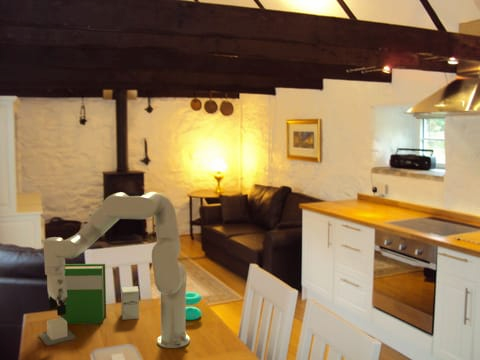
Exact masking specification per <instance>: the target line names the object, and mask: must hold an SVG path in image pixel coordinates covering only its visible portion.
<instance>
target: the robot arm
mask: <svg viewBox="0 0 480 360" xmlns="http://www.w3.org/2000/svg"><path fill="white" fill-rule="evenodd" d="M151 217H154V226H155V227H154V228H155V235H156V243H155V244H154V246H153V247H152V251H151V263H152V264H151V265H152V270H153V277H154V283H155V286H156V289H157V291H159V293H160V332H161V333H160V336H158V337H157V340H156V341H157V343H156V344H157V345H158V346H160V347H162V348H167V349H179V348H182V347H185V346H187V345H188V344H189V343H190V340H191V339H190V336H189V335H188V334H187V331H186V327H187V326H186V325H187V324H186V323H187V322H186V321H187V320H186V309H185V307H186V305H185V303H186V291H187V278H188V277H187V270H186V267H185V266H184V265H183V264H182V263H181V262H179V258H178V257H179V255H180V254H181V252H182V245H181V239H180V232H179V226H178V221H177V219H178V218H177V213H176V210H175V207H174V205H173V203H172V201H171V200H170V199H169V198H168V197H167V196H166V195H164V194H162V193H160V192H156V191H149V192H146V193H143V194H142V195H141V196H140V195H134V196H133V195H132V196H131V195H128V194H127V193H125V192H121V191H120V192H116V193H113V194H111V195H108V196H107V197H106V198H105V199H104V201H103V202H102V205H100V206H99V207H98V209H97V210H95V211H94V212H93V213H92V214H91V215H90V216H89V218H88V219H89V220H88V222H86V224H85V225H84V226H82V228H81V229H79V231H78V232H76V233H75V234H74V235H72V236H70V237H68V238H66V239H64V238H63V237H60V236H57V237H56V236H53V237H47V238H46V239H45V238H44V241H43V256H44V257H43V258H44V274H45V275H46V282H47V284H46V285H47V287H46V288H47V294H48V305H49V307H48V308H49V309H50V310H51V309H52V310H53V309H54V308H55V309H56V313H57V316H59V317H60V315H64V314H66V302H65V301H66V300H65V298H67V286H66V279H65V274H64V273H65V272H66V270H65V264H66V259H69V260H70V259H71V260H72V259H74V258H77V257H78V256H79V255H81V254H82V253H83V252H85V251H86V250H88V249H89V248H90V247H91V246H92V245H93V244H94V243H95V242H96V241H97V240H98V239H99V238H101V237H102V236H103V235H104V234H105V233H106V232H108V230H109V229H111V228H112V227H113V226H114V225H115V224H116V223H117V222H118V221H120V220H121V219H122V220H146V219H149V218H151Z"/></svg>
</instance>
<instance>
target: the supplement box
mask: <svg viewBox="0 0 480 360" xmlns="http://www.w3.org/2000/svg"><path fill="white" fill-rule="evenodd" d="M120 289H121V290H120V292H121V301H120V303H121V320H123V321H124V320H133V319H134V320H135V319H140V291H139V286H138V285H137V286H136V285H134V286H124V287H123V286H122V287H121V288H120Z"/></svg>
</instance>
